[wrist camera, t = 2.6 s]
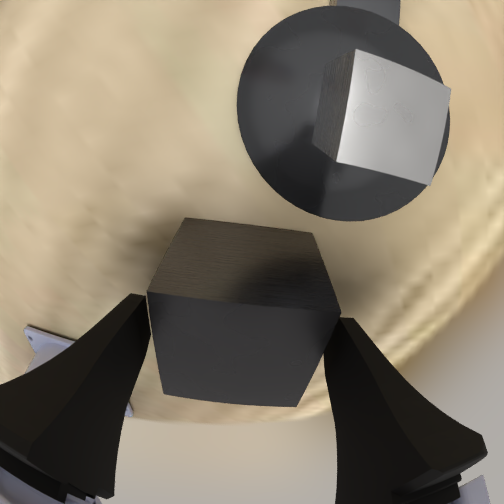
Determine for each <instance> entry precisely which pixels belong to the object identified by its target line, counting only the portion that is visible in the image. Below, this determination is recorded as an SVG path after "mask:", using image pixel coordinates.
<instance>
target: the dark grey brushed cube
mask: <svg viewBox="0 0 504 504" xmlns="http://www.w3.org/2000/svg"><path fill="white" fill-rule="evenodd" d="M147 298H148V306H149V314H150V321H151V328H152V334H153V340H154V346H155V352H156V358H157V363H158V369H159V374H160V379H161V383H162V388H163V393H164V394H166V395H172V396H177V397H183V398H190V399H197V400H204V401H212V402H221V403H230V404H242V405H256V406H277V407H297V405H298V403H299V401H300V399H301V397H302V395H303V394H304V392H305V390H306V388H307V386H308V384H309V382H310V380H311V378H312V376H313V374H314V372H315V370H316V368H317V366H318V364H319V361H320V359H321V357H322V355H323V353H324V351H325V349H326V346H327V344H328V342H329V340H330V338H331V335H332V333H333V331H334V328H335V326H336V324H337V321H338V319H339V317H340V314H341V310H340V307H339V304H338V301H337V298H336V295H335V292H334V290H333V287H332V284H331V281H330V278H329V276H328V273H327V270H326V268H325V265H324V262H323V260H322V257H321V254H320V252H319V249H318V247H317V244H316V241H315V239H314V236H313V234H312V233H307V232H300V231H292V230H285V229H277V228H269V227H261V226H253V225H244V224H236V223H227V222H219V221H210V220H201V219H191V218H185V219H184V220H183V222H182V224H181V226H180V228H179V230H178V231H177V233H176V235H175V237H174V239H173V241H172V242H171V244H170V246H169V248H168V250H167V252H166V254H165V256H164V258H163V260H162V262H161V264H160V265H159V267H158V269H157V271H156V273H155V275H154V277H153V279H152V281H151V283H150V285H149V287H148V290H147Z"/></svg>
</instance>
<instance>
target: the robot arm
mask: <svg viewBox="0 0 504 504" xmlns="http://www.w3.org/2000/svg"><path fill="white" fill-rule="evenodd" d="M24 333H25V335H26V337H27V339H28V340H29V342H30V344H31V346H32V348H33V350H34V352H35V353H36V355H35V356H34V358H33V360H32V361H31V363H30V365H29V367H28V368H27V370H26V372H25V374H24V375H22V376H20V377H17V378H15V379H13V380H11V381H8V382H6V383H4V384H1V385H0V504H102V503H101V501H100V499H99V498H98V497H97V496H99V497H102V498H105V499H109V498H111V497H113V496H114V486H115V470H116V462H117V454H118V447H119V441H120V435H121V430H122V425H123V420H124V416H128V417H132V416H133V411H132V408H131V406H130V404H129V399H130V396H131V394H132V391H133V388H134V385H135V383H136V380H137V378H138V375H139V372H140V370H141V367H142V364H143V362H144V359H145V356H146V352H147V348H148V344H149V340H150V336H151V331H150V324H149V317H148V310H147V303H146V296H143V295H137V294H132V293H131V294H129V295H128V296H127V297H126V298H125V299H124V300H122V301H121V302H120V303H119V304H118V305H117V306H116V307H115V308H114V309H113V310H111V311H110V312H109V313H108V314H107V315H106V316H105V317H104V318H103V319H101V320H100V321H99V322H98V323H97V324H96V325H95V326H94V327H92V328H91V329H90V330H89V331H88V332H87V333H85V334H84V335H83V336H82V337H80V338H79V339H78V340H77V341H76V342H75V341H71V340H68V339H65V338H61V337H58V336H55V335H52V334H49V333H46V332H43V331H40V330H37V329H34V328H32V327H29V326H26V327H25V328H24ZM324 368H325V377H326V382H327V387H328V392H329V397H330V402H331V407H332V412H333V416H334V422H335V429H336V440H337V490H336V501H335V504H490V500H489V496H488V491H487V487H486V484H485V480H484V476H483V475H481V476H479V477H477V478H475V479H474V480H472V481H470V482H468V483H466V484H464V485H462V486H460V487H458V484H457V482H459V481H461V479H462V478H461V475H460V473H461V472H463V471H465V470H466V469H468V468H470V467H471V466H473V465H474V464H476V463H477V462H479V461H480V460H482V459H483V458H484V457H486V456H487V453H488V452H487V449H486V446H485V443H484V440H483V437H482V435H481V434H479V433H477V432H475V431H473V430H471V429H469V428H467V427H465V426H464V425H462V424H460V423H459V422H457V421H455V420H454V419H452V418H451V417H449V416H448V415H446V414H445V413H443V412H442V411H441V410H439V409H438V408H437V407H436V406H434V405H433V404H432V403H430V402H429V401H428V400H427V399H426V398H424V397H423V396H422V395H421V394H420V393H419V392H418V391H417V390H416V389H415V388H414V387H413V386H411V385H410V384H409V383H408V382H407V381H406V380H405V379H404V378H403V376H402V375H401V374H400V373H399V372H398V371H397V370H396V369H395V368H394V367H393V365H392V364H391V363H390V362H389V361H388V360H387V358H386V357H385V356H384V355H383V354H382V352H381V351H380V350H379V349H378V348H377V346H376V345H375V344H374V343H373V341H372V340H371V339H370V338H369V336H368V335H367V334H366V333H365V331H364V330H363V329H362V328H361V326H360V325H359V324H358V323H357V322H356V320H355V319H354V318H342V317H339V319H338V321H337V324H336V326H335V328H334V331H333V333H332V335H331V338H330V340H329V342H328V344H327V346H326V349H325V351H324Z"/></svg>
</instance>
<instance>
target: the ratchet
mask: <svg viewBox="0 0 504 504" xmlns="http://www.w3.org/2000/svg"><path fill="white" fill-rule="evenodd" d="M399 18H400V0H330V5H329V6H323V7H315V8H311V9H308V10H304V11H301V12H298V13H296V14H294V15H292V16H289V17H287V18H285V19H284V20H282V21H281V22H279V23H278V24H276V25H275V26H274V27H272V28H271V29H270V30H269V31H268V32H267V33H266V34H265V35H264V36H263V37H262V38H261V39H260V40H259V42H258V43H257V44H256V46H255V47H254V48H253V50H252V52H251V53H250V55H249V57H248V59H247V61H246V63H245V66H244V68H243V71H242V74H241V77H240V82H239V87H238V94H237V115H238V124H239V128H240V133H241V137H242V140H243V142H244V145H245V148H246V151H247V153H248V155H249V156H250V158H251V160H252V162H253V164H254V166H255V167H256V169H257V170H258V171H259V173H260V174H261V176H262V177H263V178H264V179H265V181H266V182H267V183H268V184H269V185H270V186H271V187H272V188H273V189H274V190H275V191H276V192H277V193H278V194H280V195H281V196H282V197H283V198H284V199H286V200H287V201H289V202H290V203H292V204H293V205H295V206H296V207H298V208H300V209H302V210H304V211H306V212H308V213H311V214H314V215H317V216H319V217H323V218H327V219H332V220H338V221H364V220H370V219H375V218H378V217H382V216H385V215H387V214H390V213H392V212H394V211H397V210H398V209H400V208H402V207H403V206H405V205H407V204H408V203H409V202H411V201H412V200H413V199H414V198H416V197H417V196H418V195H419V194H420V193H421V192H422V191H423V190H424V189H425V188H426V186H427V185H429V186H431V182H432V179H433V177H434V175H435V174H436V172H437V170H438V168H439V166H440V164H441V162H442V159H443V157H444V154H445V151H446V147H447V143H448V137H449V130H450V113H449V101H450V94H451V88H449V87H447V86H445V85H444V84H443V81H442V79H441V76H440V74H439V72H438V70H437V68H436V66H435V64H434V63H433V61H432V60H431V58H430V56H429V55H428V54H427V52H426V51H425V50H424V49H423V47H422V46H421V45H420V44H419V43H418V42H417V41H416V40H415V39H414V38H413V37H412V36H411V35H410V34H409V33H408V32H406V31H405V30H404V29H402V28H401V27H400V26H399Z"/></svg>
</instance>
